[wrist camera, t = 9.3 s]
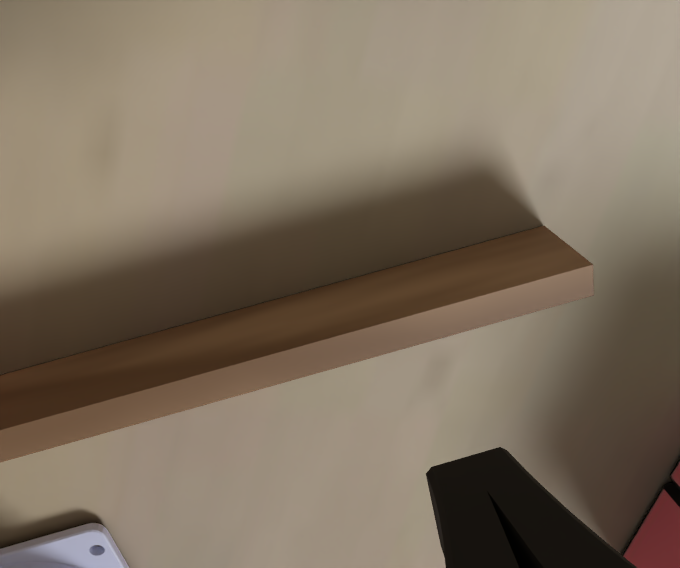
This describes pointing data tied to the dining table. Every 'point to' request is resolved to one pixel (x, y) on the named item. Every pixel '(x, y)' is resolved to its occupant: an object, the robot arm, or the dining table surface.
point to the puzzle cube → (659, 530)
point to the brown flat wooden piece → (286, 339)
